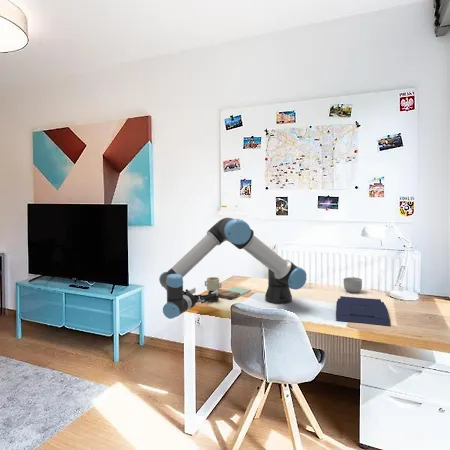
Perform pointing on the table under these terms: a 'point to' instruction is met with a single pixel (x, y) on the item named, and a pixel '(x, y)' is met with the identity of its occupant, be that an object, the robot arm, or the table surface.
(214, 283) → the character mug
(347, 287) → the teacup
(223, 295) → the walnut slab
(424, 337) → the table surface
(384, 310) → the folded navy cloth
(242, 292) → the mat
